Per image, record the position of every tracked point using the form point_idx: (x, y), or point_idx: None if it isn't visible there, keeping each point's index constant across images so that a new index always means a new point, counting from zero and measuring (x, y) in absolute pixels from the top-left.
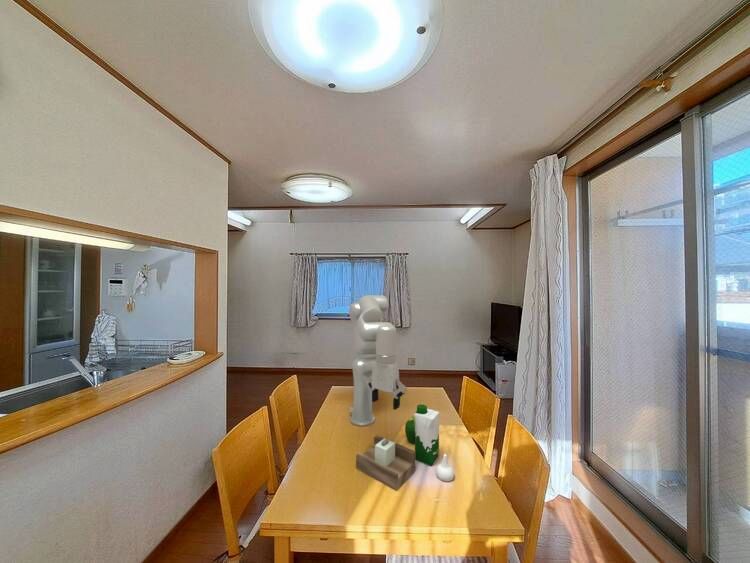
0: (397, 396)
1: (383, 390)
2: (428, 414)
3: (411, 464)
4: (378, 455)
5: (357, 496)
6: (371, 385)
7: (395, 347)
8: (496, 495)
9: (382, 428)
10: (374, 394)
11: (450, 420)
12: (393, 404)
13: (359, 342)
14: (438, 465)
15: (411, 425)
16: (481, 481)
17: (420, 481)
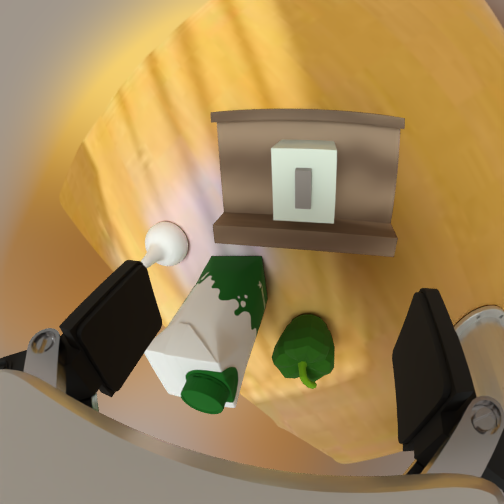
0: (32, 349)
1: (98, 435)
2: (173, 372)
3: (225, 205)
4: (315, 143)
5: (301, 25)
6: (497, 473)
7: None
8: (93, 244)
9: None
10: (430, 374)
11: (273, 410)
12: (110, 287)
13: None
14: (175, 249)
15: (306, 356)
16: None
17: (200, 186)
